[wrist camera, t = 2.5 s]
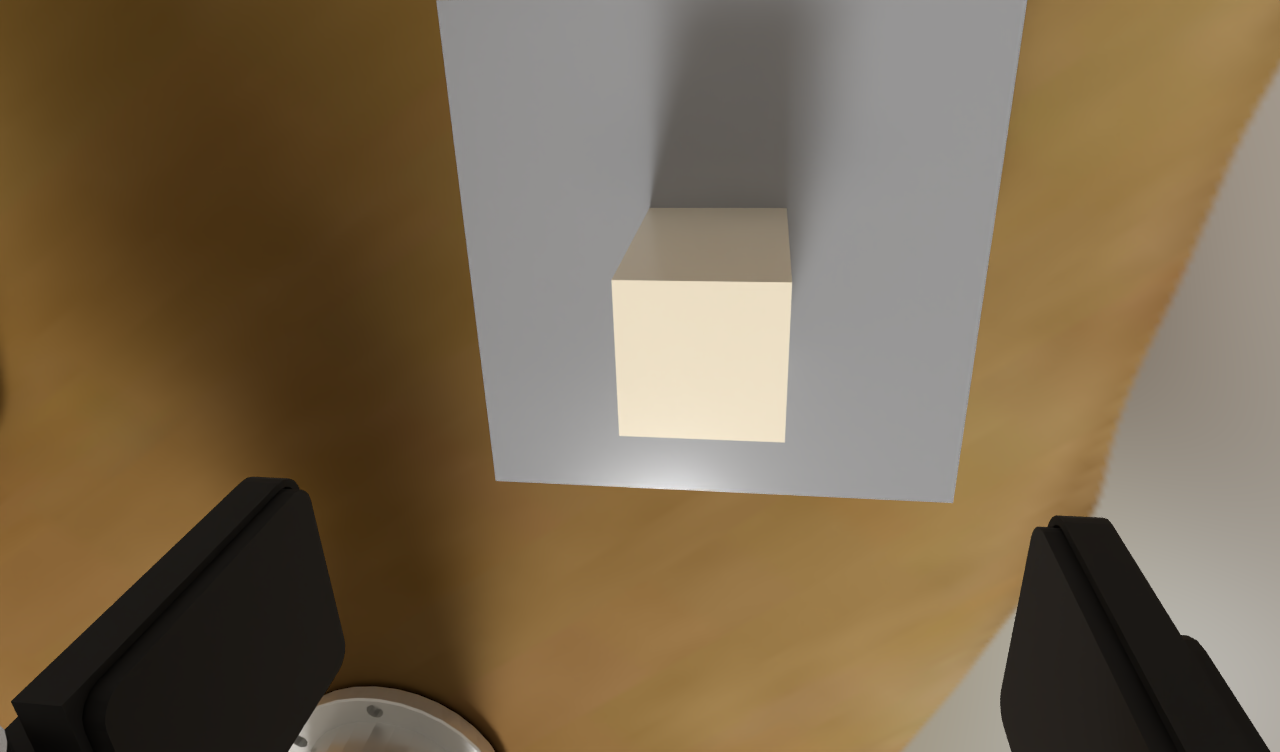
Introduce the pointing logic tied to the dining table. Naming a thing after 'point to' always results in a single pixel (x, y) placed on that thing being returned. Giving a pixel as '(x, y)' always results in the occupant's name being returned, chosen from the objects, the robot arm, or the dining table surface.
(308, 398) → the dining table surface
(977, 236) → the lid
